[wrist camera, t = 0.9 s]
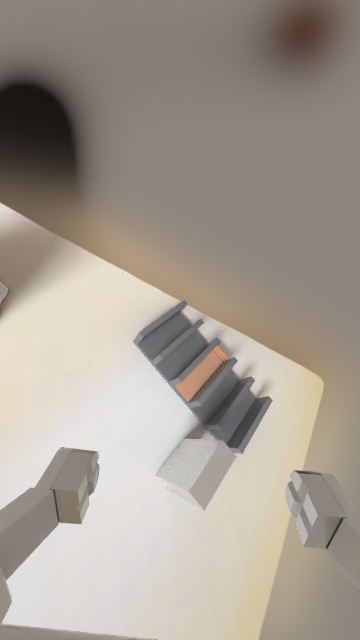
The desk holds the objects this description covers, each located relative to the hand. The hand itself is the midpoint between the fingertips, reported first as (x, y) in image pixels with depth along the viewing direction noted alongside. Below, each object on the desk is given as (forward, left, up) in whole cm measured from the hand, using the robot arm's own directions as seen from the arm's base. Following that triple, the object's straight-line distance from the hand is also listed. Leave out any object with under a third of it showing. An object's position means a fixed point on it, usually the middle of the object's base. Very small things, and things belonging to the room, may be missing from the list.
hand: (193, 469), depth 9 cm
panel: (+12, +7, -36) cm, 38 cm away
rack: (+4, +23, -36) cm, 43 cm away
